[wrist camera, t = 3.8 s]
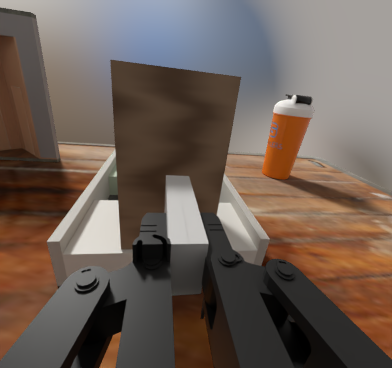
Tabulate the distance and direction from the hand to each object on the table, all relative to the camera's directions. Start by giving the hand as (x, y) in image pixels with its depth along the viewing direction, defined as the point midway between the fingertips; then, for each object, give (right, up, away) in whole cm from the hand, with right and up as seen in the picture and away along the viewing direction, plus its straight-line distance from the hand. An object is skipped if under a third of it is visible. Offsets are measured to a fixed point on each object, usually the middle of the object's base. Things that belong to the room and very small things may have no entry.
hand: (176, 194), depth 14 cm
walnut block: (-2, -4, +11) cm, 12 cm away
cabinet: (-42, +8, +37) cm, 57 cm away
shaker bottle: (+23, +3, +43) cm, 49 cm away
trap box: (-4, -3, +22) cm, 22 cm away
